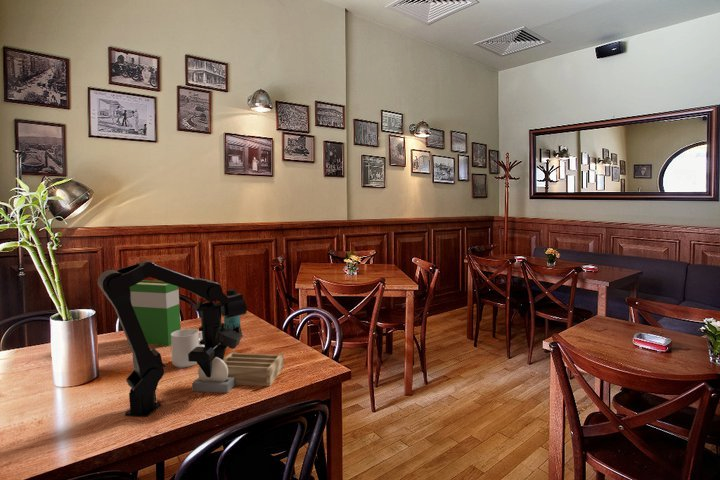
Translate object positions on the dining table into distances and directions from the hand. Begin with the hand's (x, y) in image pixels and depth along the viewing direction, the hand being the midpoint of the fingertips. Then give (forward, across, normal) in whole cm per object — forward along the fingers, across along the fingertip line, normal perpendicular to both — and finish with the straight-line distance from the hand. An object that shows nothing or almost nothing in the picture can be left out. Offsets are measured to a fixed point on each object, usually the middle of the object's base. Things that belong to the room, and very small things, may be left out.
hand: (214, 371), depth 124 cm
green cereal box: (+6, +37, +43) cm, 57 cm away
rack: (+5, +9, -8) cm, 13 cm away
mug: (+6, +18, +18) cm, 26 cm away
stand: (+5, -1, 0) cm, 5 cm away
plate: (0, -1, 0) cm, 1 cm away
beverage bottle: (+7, +44, +14) cm, 47 cm away
